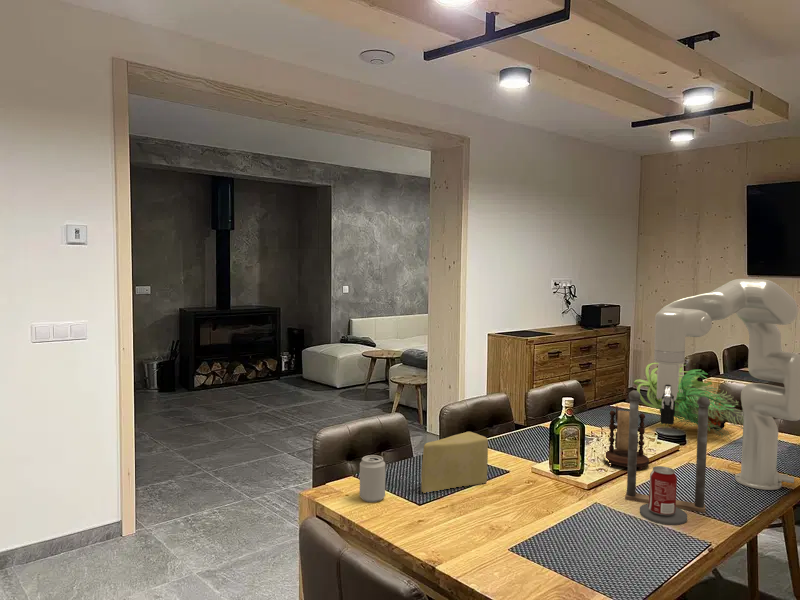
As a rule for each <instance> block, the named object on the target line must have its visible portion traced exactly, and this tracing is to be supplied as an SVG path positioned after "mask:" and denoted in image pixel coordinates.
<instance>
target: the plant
mask: <svg viewBox="0 0 800 600" xmlns="http://www.w3.org/2000/svg"><path fill="white" fill-rule="evenodd" d="M652 365H658V363H656V362H652V363H648V364H647V365H646V367H645V376H646V378H647V380H645V379H640V378H639V379H635V380H634V381H633V382H632V383H633V384H634V385H636V386H637V387H636V388H637V389H636V391H638V392H639V393H640V399H639V400H640V401H641V403H643V404H644V405H646V407H644V408H646V409H647V410H648V411H652V412H654V413H657V412H658V413H659V414H661V408H662V398H661V399H660V398H659V400H658V399H657V373H656V371H658V367H655V368H653V369H652V370H651V373H649V369H650V367H651V366H652ZM693 365H695V363H693ZM683 369H684V367H683V366H679V385H678V393H677V398H676V400H675V415H674V422H676V421H677V422H678V423H679V422H680V423H684V424H683V425H682V427H684V426H686V425H687V423H688V425H689V426H688V427H687V429H689V428H690V427H692V426H693V427H695V426H698V411H699V406H698V404H697V401H698V399H699V398H700V397H707V398H708V399H709V400H710V405H709V407H708V427H707V429H708V431H709V432H710V433H711V430H713V432H714V434H717V435H718V437H720V435H721V439H725V437H726V438H727V439H728V440H729V441H732V440H731V439H730V438H729V437H728V436H730V437H732V435H731V434H729V431H727V430H724V428H725V426H726V425H725V424H726V423H727V422H729V423H731V425H732V426H737V427H738V428H740V429H742V430H743V415H740V414H741V412H742V410H740V409H736V408H735V407H736V406H738V407H740V406H741V407H742V404H741V405H740V404H739V401H737V400H735V401H734V400H733V397H732V396H731V395H732V394H729V395H727V393H728V392H727V390H726V392H725V393H724V390H722V392H718V391H717V390H721V389H720V388H717V387H714V386H711V385H713V380H711V379H710V381H709V380H708V381H707V379H708V377H706V376H705V375H709V373H707V372H705V371H704V370H702V369H690V370H688V371H687V370H686V371H685V370H684V371H683ZM681 373H684V374H681ZM698 378H701V379H702V380H704V381H705V382H704V381H700V380H698ZM704 378H705V379H704ZM641 387H646V388H647V392H646V395H645V396H646V398H647V399H648V401H649V402H650V403H649V402H648V401H646V400H645V398H644V396H642V394H641V392H640V391H641ZM729 401H730V402H729ZM647 406H648V408H647ZM649 407H650V408H649ZM651 408H654V409H655V410H654V409H651ZM658 410H659V411H658ZM643 414H644V415H645V416H646V413H643ZM732 414H734V415H736V416H733V415H732ZM649 416H650V417H653V415H649ZM656 417H657V418H656ZM738 417H739V418H738ZM658 418H659V416H657V415H655V421H661V417H660V419H658ZM648 420H651V421H652V420H653V421H654V418H649V419H648ZM736 420H737V421H736ZM737 422H738V423H737ZM660 425H663V424H662V423H661V422H660ZM669 425H670V424H664V427H663V429H664V428H666V426H667V428H669ZM727 435H728V436H727ZM724 436H725V437H724Z"/></svg>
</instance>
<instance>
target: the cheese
mask: <svg viewBox="0 0 800 600" xmlns="http://www.w3.org/2000/svg"><path fill="white" fill-rule="evenodd" d="M488 442H489V441H488V438H487V437H486V436H484V435H480V434H478V433H476V432H472V431H466V432H463V433H462V432H461V433H457V434H454V435H451V436H447V437H445V438H444V437H443V438H441V439H437V440H432V441H429V442H426V443H425V444H424V446H423V452H422V459H421V460H422V461H421V471H420V472H421V474H420V475H421V477H420V478H421V480H420V482H421V484H420V485H421V486H420V488H421V493H422V492H423V493H422V494H424V493H426V492H431V491H438V490H444V489H449V490H451V489H450V488H454V489H457V488H456V487H459V488H463V487H462V486H464V487H470V486H475V485H481V484H482V483H483V484H487V481H488V464H489V463H488V459H489V458H488V457H489V453H488V452H489V448H488V447H489V446H488V445H489V443H488ZM469 485H470V486H469ZM444 491H445V490H444Z"/></svg>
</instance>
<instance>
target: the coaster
mask: <svg viewBox="0 0 800 600" xmlns="http://www.w3.org/2000/svg"><path fill="white" fill-rule="evenodd" d="M648 506H649V503H644V504H642V505H640V507H639V514H640V516H641V517H642V518H644V519H645V520H648V521H649V522H653V523H656V524H661V525H667V526H677V525H678V526H679V525H684V524H685V523H687V521H688V513H687V512H685V510H684V509H679V508H677V507H676V508H675V514H673V515H670V516H660V515H656V514H654V513H653V512H652V511H650V510H649V508H648Z"/></svg>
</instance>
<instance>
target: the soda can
mask: <svg viewBox="0 0 800 600" xmlns="http://www.w3.org/2000/svg"><path fill="white" fill-rule="evenodd" d="M677 482H678V477H677V475H676V471H675V470H674V469H673V468H672V467H671V468H670V467H668V466H661V465H659V466H653V467H652V471H651V472H650V474H649V487H648V488H649V489H648V491H649V492H648V495H649V506H648V508H649V510H650V511H652V512H653V513H654V514H656V515H660V516H670V515H673V514H675V508H676V500H677V488H678V483H677Z"/></svg>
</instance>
